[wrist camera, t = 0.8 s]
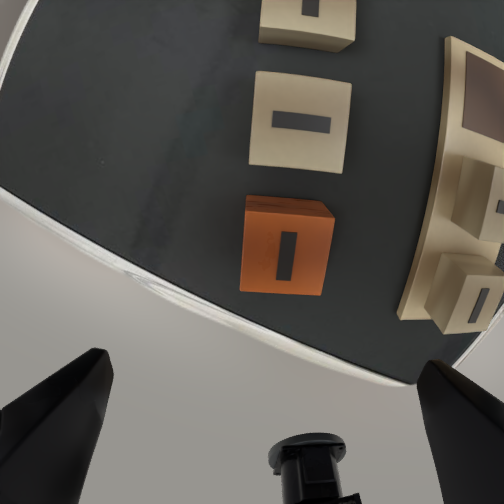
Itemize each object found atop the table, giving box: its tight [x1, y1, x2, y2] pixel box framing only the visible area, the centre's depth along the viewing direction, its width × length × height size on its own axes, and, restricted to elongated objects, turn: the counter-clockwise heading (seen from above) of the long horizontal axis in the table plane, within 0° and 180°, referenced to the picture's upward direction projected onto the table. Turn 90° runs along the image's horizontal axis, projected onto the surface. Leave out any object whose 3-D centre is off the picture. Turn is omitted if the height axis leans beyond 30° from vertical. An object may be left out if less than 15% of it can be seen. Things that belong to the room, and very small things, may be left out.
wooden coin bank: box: [240, 195, 335, 295], centre depth 16 cm, size 4×4×3 cm
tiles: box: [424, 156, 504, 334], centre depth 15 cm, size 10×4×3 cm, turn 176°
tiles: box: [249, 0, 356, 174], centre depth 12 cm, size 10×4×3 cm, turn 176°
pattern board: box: [397, 36, 504, 320], centre depth 15 cm, size 18×7×1 cm, turn 176°
